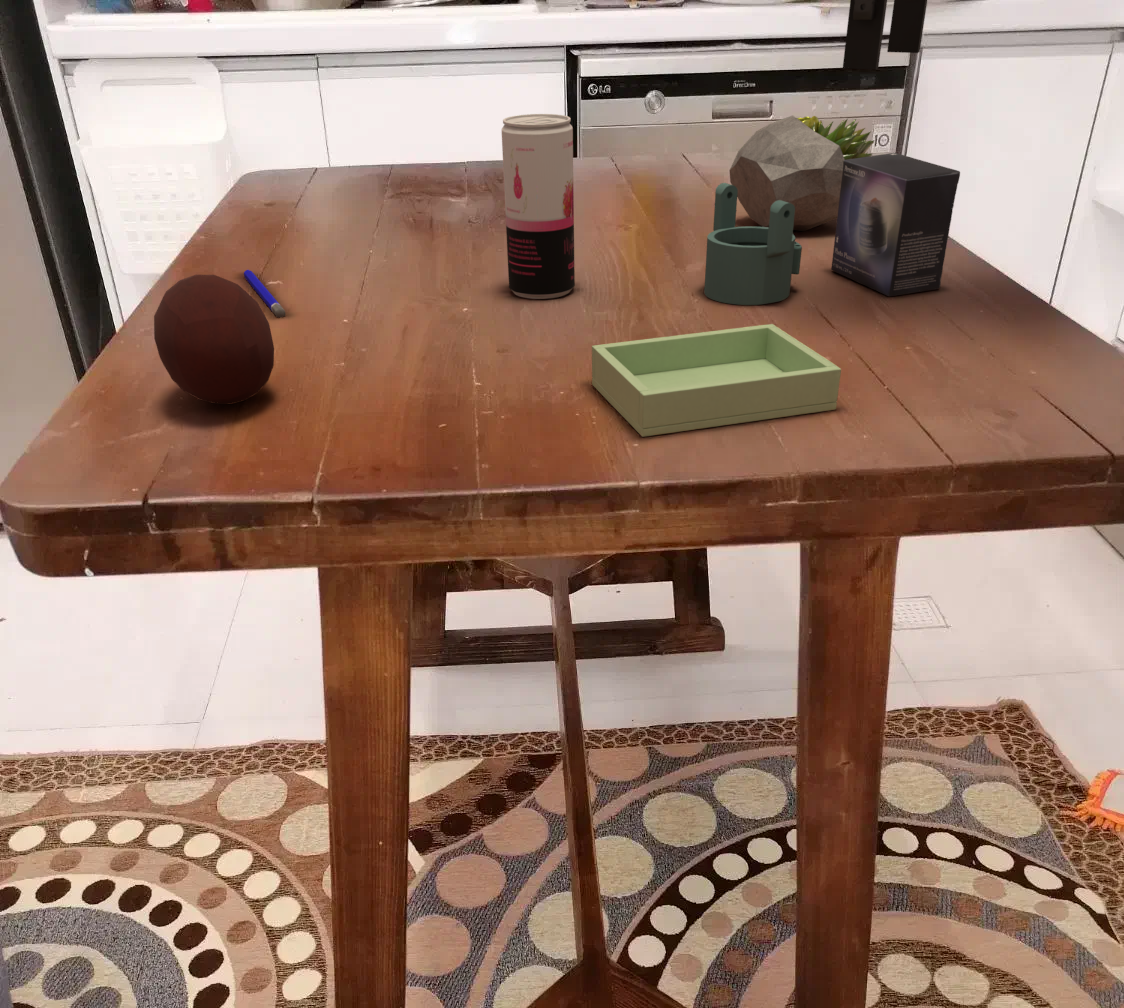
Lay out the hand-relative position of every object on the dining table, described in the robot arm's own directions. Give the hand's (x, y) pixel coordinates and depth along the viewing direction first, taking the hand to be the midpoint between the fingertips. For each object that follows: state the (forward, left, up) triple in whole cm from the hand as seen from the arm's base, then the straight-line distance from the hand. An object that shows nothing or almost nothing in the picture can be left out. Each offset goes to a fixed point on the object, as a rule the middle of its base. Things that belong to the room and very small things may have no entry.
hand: (882, 60), depth 93 cm
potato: (-6, +59, -20) cm, 62 cm away
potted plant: (+29, -9, -20) cm, 36 cm away
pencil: (+23, +54, -20) cm, 61 cm away
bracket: (+6, +8, -20) cm, 22 cm away
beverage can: (+14, +27, -20) cm, 36 cm away
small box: (+5, -6, -20) cm, 21 cm away
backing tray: (-19, +23, -19) cm, 36 cm away
